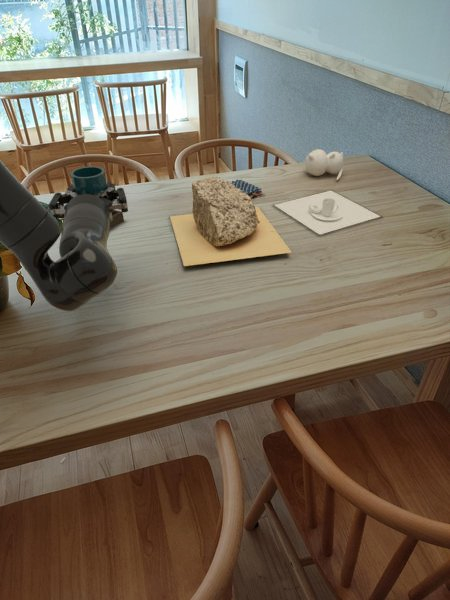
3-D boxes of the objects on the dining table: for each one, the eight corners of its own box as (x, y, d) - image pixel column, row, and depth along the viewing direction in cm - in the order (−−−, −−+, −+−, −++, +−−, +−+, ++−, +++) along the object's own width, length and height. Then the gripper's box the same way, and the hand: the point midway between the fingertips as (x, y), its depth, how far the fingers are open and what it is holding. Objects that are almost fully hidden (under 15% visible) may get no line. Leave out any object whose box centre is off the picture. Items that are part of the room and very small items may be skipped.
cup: (74, 223, 89) (63, 174, 84) (96, 211, 94) (87, 164, 88) (97, 229, 87) (88, 180, 81) (118, 217, 91) (111, 169, 85)
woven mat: (236, 204, 123) (236, 197, 122) (212, 193, 130) (212, 186, 129) (264, 195, 129) (264, 188, 127) (240, 184, 135) (240, 177, 134)
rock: (167, 215, 118) (194, 158, 111) (236, 244, 127) (265, 193, 120) (181, 265, 95) (216, 197, 89) (264, 296, 104) (302, 236, 97)
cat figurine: (345, 142, 136) (306, 142, 135) (351, 171, 133) (312, 171, 131) (336, 161, 144) (300, 161, 143) (342, 188, 141) (305, 189, 140)
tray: (52, 227, 114) (50, 218, 112) (85, 210, 122) (83, 201, 120) (92, 239, 108) (90, 230, 107) (124, 220, 116) (122, 211, 115)
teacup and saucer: (303, 211, 119) (304, 197, 117) (327, 205, 122) (329, 191, 120) (324, 224, 113) (326, 209, 110) (348, 217, 116) (351, 203, 113)
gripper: (126, 200, 74) (126, 166, 88) (36, 207, 72) (49, 171, 86) (132, 240, 79) (131, 202, 92) (47, 248, 77) (58, 208, 90)
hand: (92, 187), depth 89 cm, fingers closed on cup, 6 cm apart
